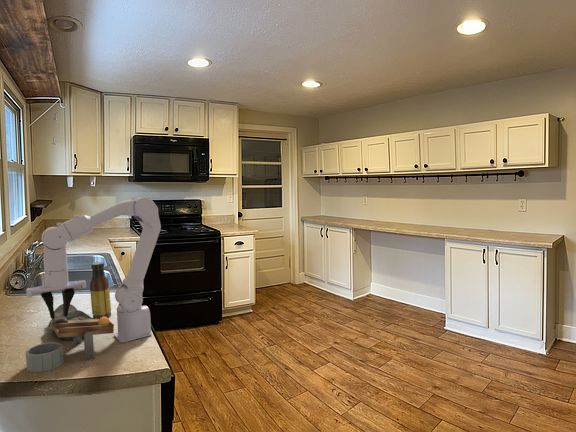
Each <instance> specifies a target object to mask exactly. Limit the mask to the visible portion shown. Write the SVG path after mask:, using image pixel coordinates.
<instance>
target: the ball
mask: <svg viewBox="0 0 576 432" xmlns="http://www.w3.org/2000/svg"><path fill="white" fill-rule="evenodd" d="M109 318H110V317H102V318H100V319H99V321H98V324H99V325H109V323H110V322H111V321H110V319H109Z"/></svg>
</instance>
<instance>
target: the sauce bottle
mask: <svg viewBox="0 0 576 432" xmlns="http://www.w3.org/2000/svg"><path fill="white" fill-rule="evenodd" d="M90 265H91V270H92V271H91V272H92V277H91V280H90V283H89V291H90V292H89V293H90V304H91V314H92V317H93V318H92V319H100V318H102V317H107V318H110V317H111V316H112V312H111V311H112V303H111V292H110V286H109V285H110V284H109V280H108V277H106V275H105V269H104V268H105V264H104V262H103V261H97V262H96V261H95V262H93V263H91V264H90Z"/></svg>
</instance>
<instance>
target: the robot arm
mask: <svg viewBox="0 0 576 432" xmlns="http://www.w3.org/2000/svg"><path fill="white" fill-rule="evenodd" d="M120 216H129V217H130V216H131V217H132V216H133V217H134V218H135V219H136V220H137V221H138V223H139V224H140V226H141V228H142V230H141V232H140V237H139V239H138V241H137V242H138V243H137V245H136V248H135V251H134V254H133V257H132V259H131V263H130V266H129V269H128V271H127V275H126V276H125V278H124V279H122V281H121V284H120V286H119V287H118V288H117V289H116V291H115V293H114V298H115V301H116V302H117V303H118V305H117V307H116V319H117V321H116V323H117V332H114V333H113V336H114V337H115V338H116V339H117V340H118V341H119V343H127V342H131V341H134V340H140V339H142V338H146V337H150V336H152V335H153V333H152V325H151V322H152V321H151V310H150V308H149V307H148V306H147V305H142V304H143V301H144V298H143V292H144V290H145V289H144V279H145V276H146V274H147V271H148V268H149V265H150V261H151V259H152V255H153V252H154V249H155V248H156V245H157V241H158V238H159V235H160V233H161V228H162V225H161V220H160V214H159V208H158V206H157V205H156V203H155V202H154V201H153V199H152V198H150V197H141V196H135V197H132V198H131V199H130V198H129V199H128V198H127V199H125V200H122V201H120V202H117V203H115V204H113V205H110V206H109V207H107V208H104V209H102V210H100V211H98V212H95V213H94V214H92V215H86V214H75V215H73V218H71V219H68V220H66V221H64V222H60V221H59V222H57V223H56V226H51V227H47V228H46V229H45V230H44V231H43V232H42V234H41V237H40V239H41V242H42V243H43V249H42V250H43V251H42V252H43V268H44V269H43V270H44V272H43V273H44V283H45V284H44V285H38V286H35V287H29V288H26V289H25V290H26V296H27V298H30V297H31V298H32V297H34V296H38V295H40V296H41V299H42V300H43V301H44V303H45V305H46V307H47V309H48V312H49V316H50V318H51V319H50V320H52V319H54V318H55V315H54V311H55V308H54V295H53V293H58V292H61V295H62V304H63V314H64V316H68V310H69V306H70V304H71V302H72V300H73V297H74V296H75V292H76V291H75V290H77V289H86V288H87V281H86V280H85V279H83V280H74V281H69V266H68V265H69V264H68V253H67V248H66V246H67V243H68V242H73V241H75V240H77V239H80V238H82V237H84V236H86V235H89V234H92V232H93V231H94V228H96V226H98V225H100V224H103V223H105V222H108V221H110V220H113V219H115V218H119V217H120Z"/></svg>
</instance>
